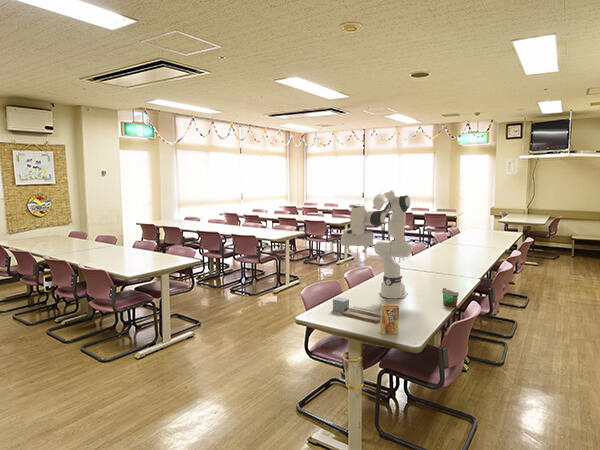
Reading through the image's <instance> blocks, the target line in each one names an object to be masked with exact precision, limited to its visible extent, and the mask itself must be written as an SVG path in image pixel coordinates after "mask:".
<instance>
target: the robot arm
mask: <svg viewBox="0 0 600 450" xmlns="http://www.w3.org/2000/svg"><path fill="white" fill-rule="evenodd" d="M372 203H373V207H374V208H375V209H376V210H375V209H366V208H365V205H364V204H354V205H352V206H351V208H350V209H351V210H350V226H349V227H347V228H343V230H342V233H341V237H340V245H341V246H342V247H346V249H347V253H348V254H351V253H352V250H351V249H350V247H354V246H356V247H359V246H360V247H361V246H363V247H364V249H361V250H362V251H361V252H362V253H364V254H365V253H366V250H367V249H368V247H369V246H370V247H371V246H373V245H374V249H373V250H374V252H375V254H376V255H377V256H379V258H380V259H381V262H382V263H383V276H382V282H381V286H380V291H379V292H378V294H379V295H381V297H383V298H387V299H405V298H406V297H407V296H408V294H409V291H408V290H406V285H405V284H404V283H403V282H402V279H403V275H401V265H400V263H398V262H397V261H395V260H394V258H409V257H410V256H411V254H412V251H413V249H412V245H411V244H410V243H409V242H408V240H407V239H406V237H405V230H406V228H405V227H406V223H407V215H406V212H407V211H408V210H409V208H410V206H411V199H410V196H408V195H407V194H396V193H395V192H394V191H393V190H392V189H390V188H386V189H384V190H381V191H380V192H378V193H377V194H376V195H375V196H374V197H373V200H372ZM390 212H391V216H390V218H389V219H390V220H389V223H388V229H387V233H388V235H389V236H390V237H391V238H393V239H394V240H378V241H376V242H375V244H374V232H373V231H372V230H365V226H373V227H381V226H382V225H383V224H384V223H385V220H386V218H387V216H388V214H389V213H390Z"/></svg>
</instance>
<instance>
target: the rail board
mask: <svg viewBox="0 0 600 450" xmlns="http://www.w3.org/2000/svg"><path fill="white" fill-rule="evenodd" d="M342 316H346V317H349V318H354V319H357V320H361V321H366V322H371V323H375V324H379V323H380V318H381V311H375V310H371V309H366V308H363V307H362V308H361V307H359V306H358V307H357V306H352V307H351V306H349V309H348V310H345V312H342Z"/></svg>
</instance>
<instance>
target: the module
mask: <svg viewBox="0 0 600 450" xmlns="http://www.w3.org/2000/svg"><path fill="white" fill-rule="evenodd" d="M349 308H350V299H349V298H346V297H345V298H344V297H340V296H337V297H335V298H333V299H332V311H335V312H338V313H343V312H345V311H346V310H348V309H349Z"/></svg>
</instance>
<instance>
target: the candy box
mask: <svg viewBox="0 0 600 450" xmlns="http://www.w3.org/2000/svg"><path fill="white" fill-rule="evenodd" d="M380 312H381V318H380V322H379V323H380V324H379V325H380V327H379V329H380V330H379V332H380V333H381V335H398V334H399V324H400V323H399V322H400V321H399V320H400V319H399V318H400V317H399V316H400V305H398V304H397V303H383V304H382V303H381V304H380Z"/></svg>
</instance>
